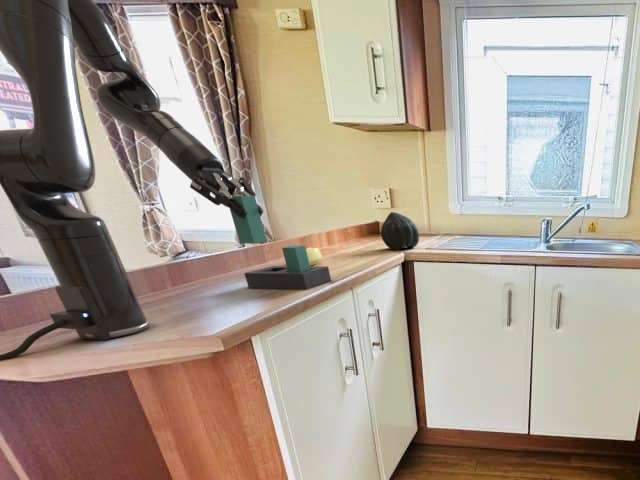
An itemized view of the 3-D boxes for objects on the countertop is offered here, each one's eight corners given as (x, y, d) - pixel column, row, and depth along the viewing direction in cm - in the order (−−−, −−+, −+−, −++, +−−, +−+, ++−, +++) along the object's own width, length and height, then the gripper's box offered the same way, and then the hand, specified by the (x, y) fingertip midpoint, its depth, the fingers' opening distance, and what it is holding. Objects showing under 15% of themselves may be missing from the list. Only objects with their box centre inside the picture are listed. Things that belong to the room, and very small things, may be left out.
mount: (306, 289, 109) (302, 273, 107) (248, 288, 113) (244, 273, 112) (331, 280, 118) (328, 266, 116) (276, 280, 122) (272, 266, 121)
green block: (254, 243, 96) (240, 195, 92) (239, 243, 97) (225, 196, 93) (267, 241, 100) (254, 195, 96) (253, 241, 101) (240, 195, 96)
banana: (329, 240, 147) (284, 256, 132) (336, 255, 150) (293, 273, 134) (304, 249, 154) (258, 266, 138) (312, 264, 156) (268, 282, 141)
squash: (422, 235, 168) (412, 204, 172) (384, 240, 164) (375, 208, 167) (421, 256, 181) (412, 227, 185) (386, 261, 177) (377, 231, 180)
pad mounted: (304, 286, 113) (294, 247, 108) (291, 286, 114) (281, 247, 109) (314, 283, 116) (305, 245, 112) (301, 283, 117) (292, 245, 113)
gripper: (165, 139, 85) (233, 203, 88) (224, 145, 98) (282, 200, 100) (155, 170, 89) (221, 230, 91) (213, 171, 101) (270, 224, 103)
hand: (253, 214), depth 95 cm, fingers closed on green block, 4 cm apart
